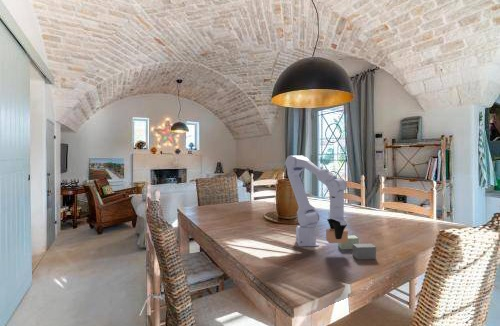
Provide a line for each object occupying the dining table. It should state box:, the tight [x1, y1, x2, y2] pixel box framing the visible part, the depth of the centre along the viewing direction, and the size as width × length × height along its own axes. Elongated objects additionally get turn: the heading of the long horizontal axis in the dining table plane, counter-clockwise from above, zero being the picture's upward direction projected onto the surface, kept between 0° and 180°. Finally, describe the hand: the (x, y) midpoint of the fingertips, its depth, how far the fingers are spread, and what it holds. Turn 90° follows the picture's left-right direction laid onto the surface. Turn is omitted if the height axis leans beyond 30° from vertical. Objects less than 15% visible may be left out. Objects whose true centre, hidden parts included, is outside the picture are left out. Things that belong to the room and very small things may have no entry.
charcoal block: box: [352, 243, 377, 260], centre depth 104 cm, size 8×4×5 cm, turn 92°
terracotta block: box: [325, 228, 349, 244], centre depth 108 cm, size 8×4×5 cm, turn 92°
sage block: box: [337, 234, 360, 250], centre depth 115 cm, size 8×4×5 cm, turn 91°
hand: (336, 237), depth 108 cm, fingers closed on terracotta block, 4 cm apart
